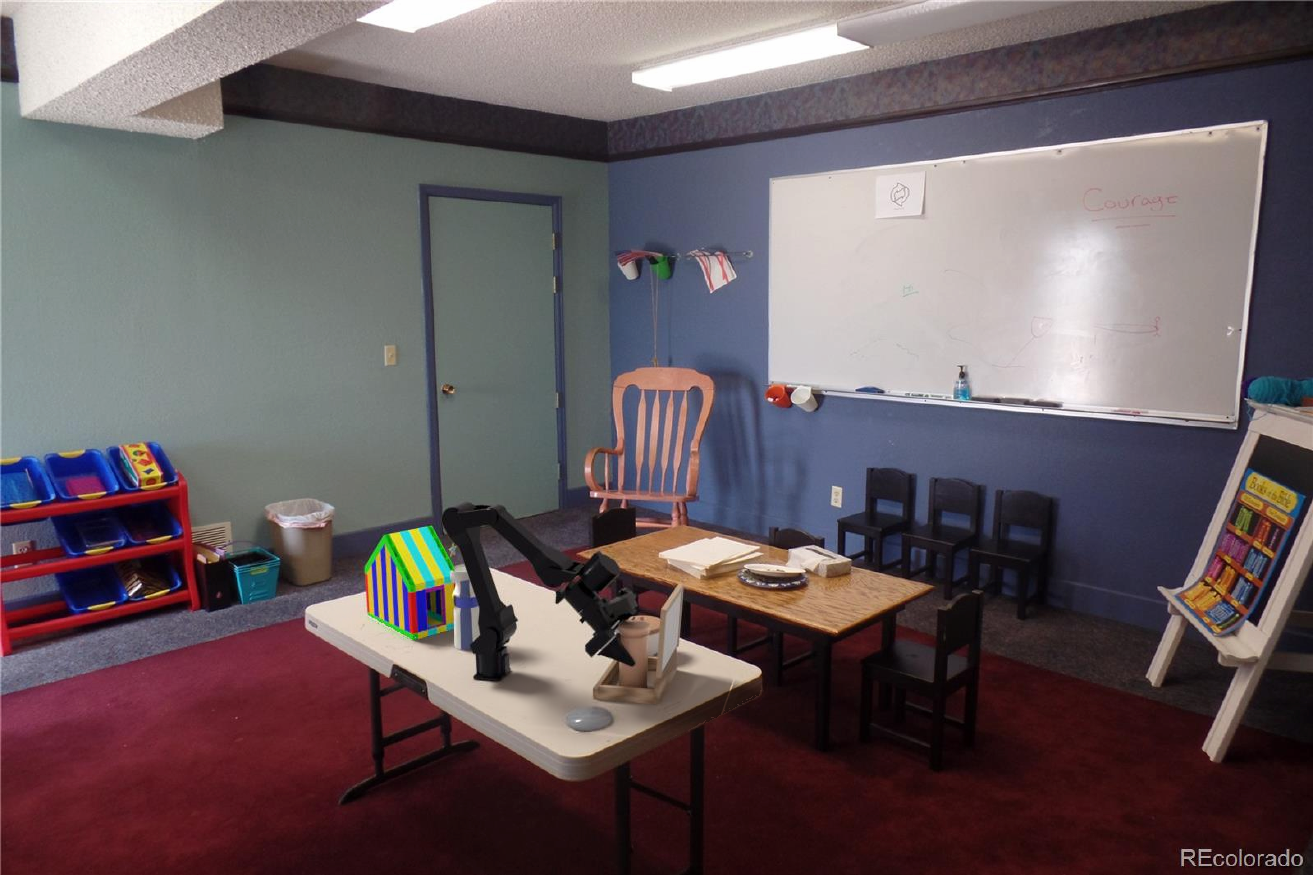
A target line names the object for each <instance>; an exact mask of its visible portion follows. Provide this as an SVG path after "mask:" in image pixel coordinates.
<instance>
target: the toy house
mask: <svg viewBox="0 0 1313 875" xmlns="http://www.w3.org/2000/svg"><path fill="white" fill-rule="evenodd" d="M368 559H369V560H368V561H367V562H366V564H365V566H364V580H365V581H364V582H365V584H364V585H365V595H366V596H365V598H366V612H367V614H368V615H369V616H371V617H372V618H375V619H377V620H378V621H379V622H381V623H384V624H385V625H386V626H388V627H391V628H393V629H394V630H395V631H397V632H400V633H401V634H403V635H405V636H407V637H409V638H410V639H412V640H414V641H416V639H418V640H420V639H419V638H421V637H425V636H428V637H430V636H431V635H432V636H434V634H435V635H438V634H441V633H440V632H442V633H445V632H447V631H448V630H449V631H452V630H454V608H455V607H454V606H453V605H452V595H453V592H454V590H455V586H456V583H452V581H451V579H450V571H455V569H454V567H455V566H454V564H453V563H452V560H451V557H450V556H449V555H448V553H447V551H446V549H445V548H444V546H443V544H442V542H441V540H440V538H439V537H438V535H437V533H436V531H435V529H434V527H433V526H432V525H430V526H422V527H418V528H413V529H408V530H402V531H398V532H392V533H388V534H384V535H382V538H381V539H380V540H379V543H378V544H377V546H376V548H375V549H374V550H373V552H372V553H371V556H370V558H368ZM367 614H366V615H367ZM451 629H452V630H451ZM444 631H445V632H444ZM437 633H438V634H437ZM415 637H416V638H415ZM425 638H426V637H425ZM410 639H409V640H410ZM421 639H422V638H421ZM412 640H411V641H412Z"/></svg>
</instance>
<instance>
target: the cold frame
mask: <svg viewBox="0 0 1313 875" xmlns="http://www.w3.org/2000/svg"><path fill="white" fill-rule="evenodd" d="M677 648H678V647H676V648H675V650H674V652H673V653H672V655H671V657H670V659H669V660H668V662H667V664H666V666H665V668H664V669H663V671H662V677H661V678H656V669H657V656H648V673H647V689H646V688H634V687H622V686H619V661H616V660H613V659H612V661H611V663H610V664H608V667H607V668H606V669H605V671H604V672H603V673H602V675H601V677H600V678H599V679H598V681H597V682H596V683H595V685H594V686H593V688H592V699H594V700H602V701H615V702H626V703H627V702H628V703H637V704H639V703H640V704H649V705H660V703H661V701H662V699H663V697H664V696H665V694H666V692H667V690H668V688H669V686H670V685H671V682H672V681H673V679H674V676H675V675H676V673H677V671H678V660H677V658H678V656H677V653H678V652H677V650H678V649H677Z"/></svg>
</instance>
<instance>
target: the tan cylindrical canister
mask: <svg viewBox="0 0 1313 875" xmlns="http://www.w3.org/2000/svg"><path fill="white" fill-rule="evenodd" d="M618 633H620V637H621V643H622V645H623V646H624V647H625V649H626V650H627V651H628V653H629V654H630V655H631V657H632V658H633V659H634V661H635V663H636V664H635V665H634V666H633V667H631V666H629V665H626V664H624V663H621V662H619V686H622V687H634V688H646V689H647V673H648V634H649V633H650V624H649V623H647V622H645V621H641V620H626V621H622V622H620V623H619V624H618Z"/></svg>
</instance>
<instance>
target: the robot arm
mask: <svg viewBox="0 0 1313 875" xmlns="http://www.w3.org/2000/svg"><path fill="white" fill-rule="evenodd" d="M440 522H441V524H442V527H443V529H444V531H445V533H446V535H447V537H448V539H449V540H450V541H451V542H452V543H453V544H455V546H457V548H458V550H459V552H460V556H461V558H462V560H463V564H464V565H465V568H466V571H467V574H468V577H469V579H470V582H471V585H472V588H473V591H474V594H475V597H476V600H477V603H478V606H479V617H478V626H479V632H480V635H479V636H478V637H477V638H476V639H475V640H474V641H473V642H472V643H471V644H470V647H471V650H470V651H471V653H472V654H473V655H475V669H476V670H475V672H476V673H475V674H474V675H473V676H472V678H473V679H475V680H485V681H497V682H499V681H502V680H503V679H504V677H506V676H507V674H508V673H510V671H512V668H511V665H510V663H511V662H510V653H508V646H507V645H506V644H508V643H510V640H511V637H513V636H514V634H515V633H516V631H517V628H518V624H517V622H518V621H519V619H518V618H517V617H516V615H515V610H514V607H513V605H512V604H508V605H506V604H505V603H504V602H503V601H502V600H501V599H500V595H499V593H498V590H497V586H496V584H495V581H494V577H493V575H492V572H491V569H490V566H489V563H488V561H487V557H486V554H485V551H484V548H483V546H482V542H481V538H480V537H481V529H482V527H483V526H484V527H486V526H490V527H491V528H492V529H493V530H494V531H495V532H497V533H498V534H499V535H500V536H501V537H502V538H503V539H504V540H505V541H507V543H509V544H510V545H511V546H512V547H513V548H514V549H515V550H516V551H518V552H519V553H520V554H521V555H522V556H523V557H524V558H525V559H526V560H528V562H529V563H530V564H531V567H532V569H533V571H534V573H535V575H536V576H537V577H538V578H539V580H540V581H541V582H542V583H543V585H545V586H546V587H548V588H550V589H554V588H558V589H556V590H555V592H554V593H555V600H554V603H555V604H556V605H558V604H559V603H561V602H563V600H565V601H566V603H568V604H569V606H571V607H572V608H573V610H574V611H575V612H576V613H577V614H578V615H579V617H581V618H579V619H578V620H579V622H580V623H581V624H584V623H586V624H587V625H588V626H589V627H590V628H591V629H592V631H594V632H593V633H592V636H593V637H591V638H590V639H589V641H588V642H587V643H585V645H584V651H585V653H586V654H587V655H588V656H589V657H590V658H593V657H594V656H595V655H596V654H597V656H598V657H599V656H601V657H602V656H603V657H606V658H609V659H610V660H612V661H613V660H616V661H619V662H621V663H624V664H626V665H629V666H631V667H633V666H634V665H635V664H636V663H635V661H634V659H633V658H632V657H631V655H630V654H629V653H628V651H627V650H626V649H625V647H624V646H623V645H622V643H621V637H620V633H618V624H619V623H620V622H622V621H626V620H630V619H629V618H630V617H633V616H634V615H635V614H636V613H637V612H638V610H637V609H636V607H638V603H637V601H636V598H637V595H636V593H633V590H631V589H629V588H628V587H624V588H621V589H620V590H619V591H618V596H616V597H615V598H613V599H611V600H610V599H609V598H608V597H607V596H603V597H600V595H599V594H598V593H597V592H603V591H605V589H606V588H607V587H608V586H609V585H610V584H611V583H612V582H613V581H614V580H615V579H616V578H618V577H619V575H620V574H621V567H620V565H619V564H618V563H617V561H616V560H615V559H614V558H611V557H610V556H608V555H607V554H603V553H602V552H601V551H600V550H597V551H596V552H594V553H593V554H591V556H590V558H589V559H588V561H587V562H586V563H585V562H582V561H578V560H577V561H576V560H573V559H572V558H571V557H570V556H568V555H567V554H565V553H563V552H562V551H560V550H558V549H556V548H553V547H550V546H548V545H547V544H545V543H543V542H542V541H541V540H540V539H539V538H538V537H536V536H535V535H534V533H532V531H530V530H529V529H528V528H527V527H525V525H523V524H522V523H521V522H520V521H519V520H518V519H517V518H515V516H513V515H512V514H511V513H509V511H508V510H507V508H506V507H505V506H504V505H502V504H498V503H497V504H484V503H483V504H473V503H472V502H470V501H463V502H460V503H457V504H455V505H452V506H450V507H447V508H446V509H445V510H444V511H443V512H442V515H441V516H440ZM577 577H579V579H578V580H577V581H575V579H576V578H577ZM565 583H567V584H566V585H565V586H564V587H563V588H561V586H563V585H564V584H565ZM635 616H636V615H635ZM635 616H634V617H633V618H632V619H631V620H635Z"/></svg>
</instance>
